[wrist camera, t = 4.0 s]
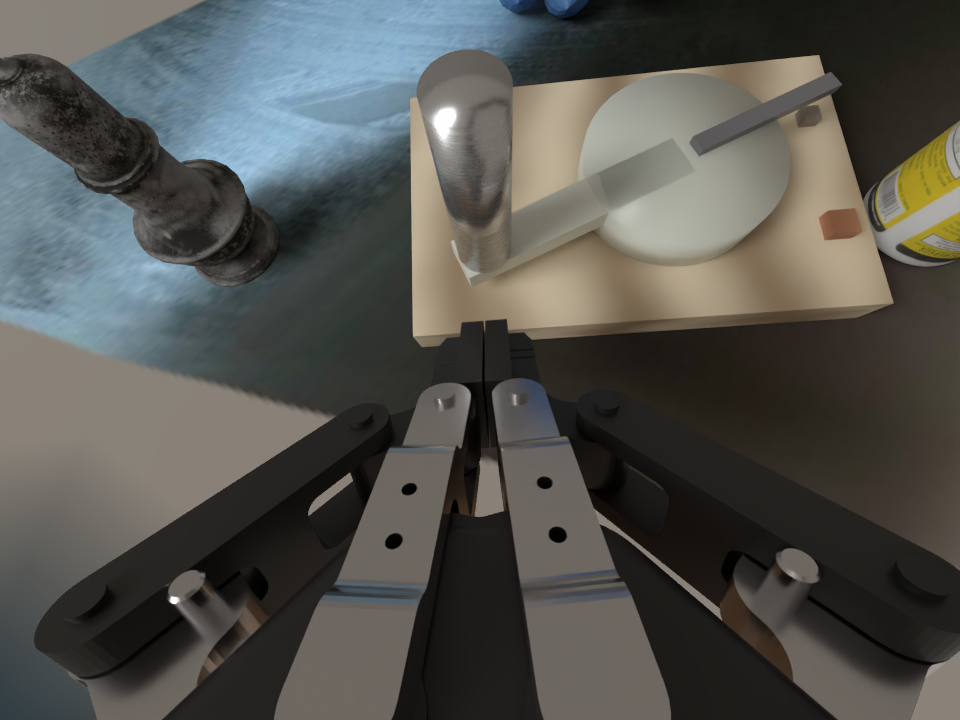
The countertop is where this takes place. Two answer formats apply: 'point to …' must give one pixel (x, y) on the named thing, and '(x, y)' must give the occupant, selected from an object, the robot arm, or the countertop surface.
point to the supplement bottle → (920, 205)
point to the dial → (610, 166)
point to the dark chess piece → (140, 173)
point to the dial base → (642, 286)
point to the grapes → (548, 6)
